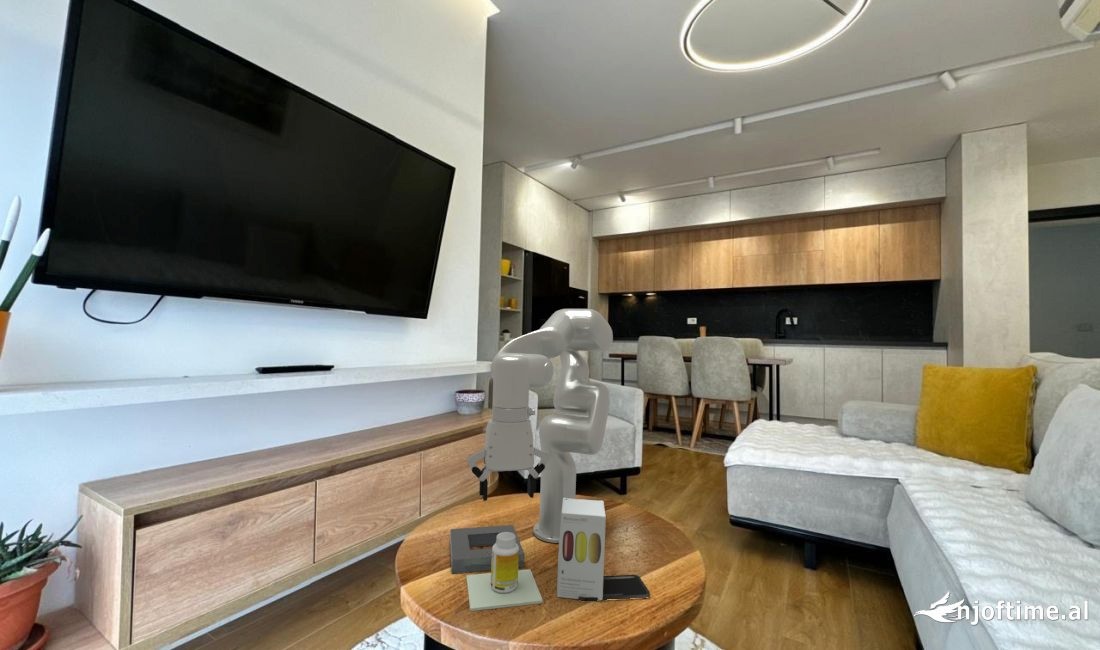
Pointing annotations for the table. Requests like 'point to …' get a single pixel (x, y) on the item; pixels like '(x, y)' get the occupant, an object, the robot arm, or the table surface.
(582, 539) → the supplement box
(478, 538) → the socket block
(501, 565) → the supplement bottle
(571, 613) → the table surface
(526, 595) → the sage mat
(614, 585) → the phone
